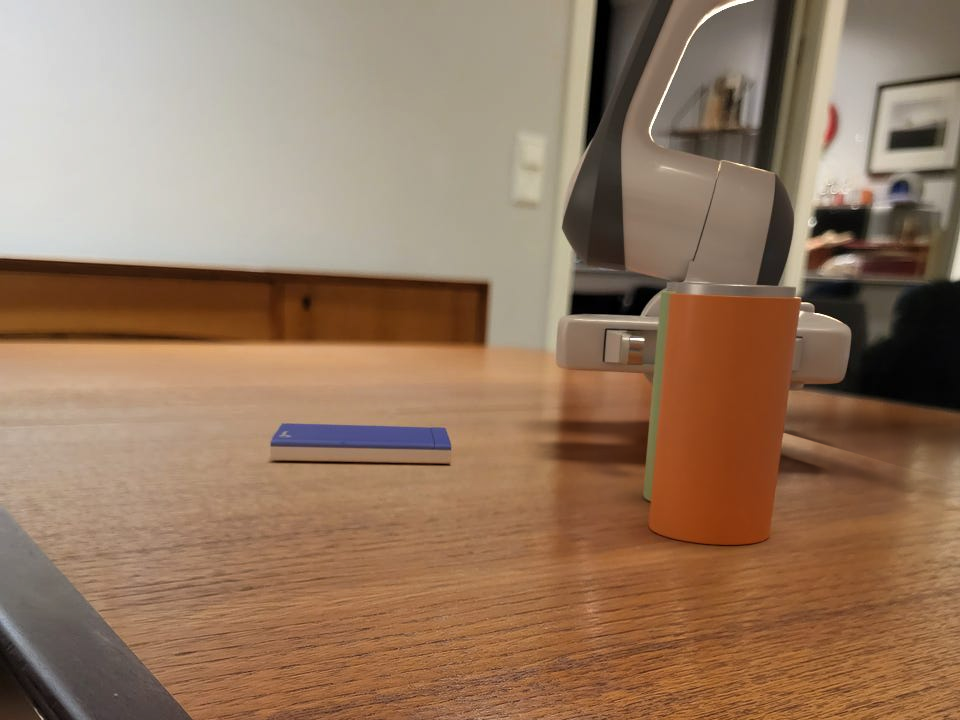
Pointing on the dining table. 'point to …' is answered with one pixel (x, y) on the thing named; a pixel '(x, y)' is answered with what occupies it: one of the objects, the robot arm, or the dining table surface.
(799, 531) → the dining table surface
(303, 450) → the hard drive
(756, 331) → the orange can
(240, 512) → the dining table surface
